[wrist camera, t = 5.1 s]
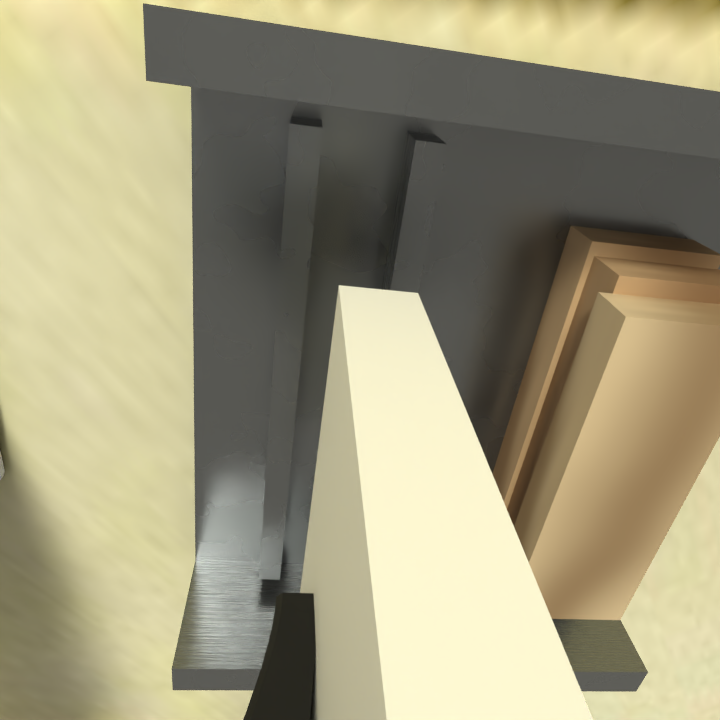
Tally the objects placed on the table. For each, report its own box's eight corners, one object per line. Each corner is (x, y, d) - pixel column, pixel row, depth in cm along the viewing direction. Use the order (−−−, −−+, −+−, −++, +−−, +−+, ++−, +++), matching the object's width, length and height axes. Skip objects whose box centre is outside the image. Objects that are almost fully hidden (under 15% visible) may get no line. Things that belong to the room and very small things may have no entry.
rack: (200, 557, 24) (172, 690, 19) (198, 13, 15) (142, 3, 10) (575, 569, 27) (635, 691, 22) (786, 103, 17) (982, 132, 12)
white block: (289, 674, 16) (272, 1198, 9) (338, 285, 11) (402, 868, 3) (341, 674, 17) (366, 1188, 9) (418, 292, 11) (649, 856, 3)
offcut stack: (473, 519, 23) (506, 619, 19) (564, 224, 17) (640, 281, 13) (576, 524, 23) (629, 622, 20) (699, 240, 18) (809, 299, 14)
